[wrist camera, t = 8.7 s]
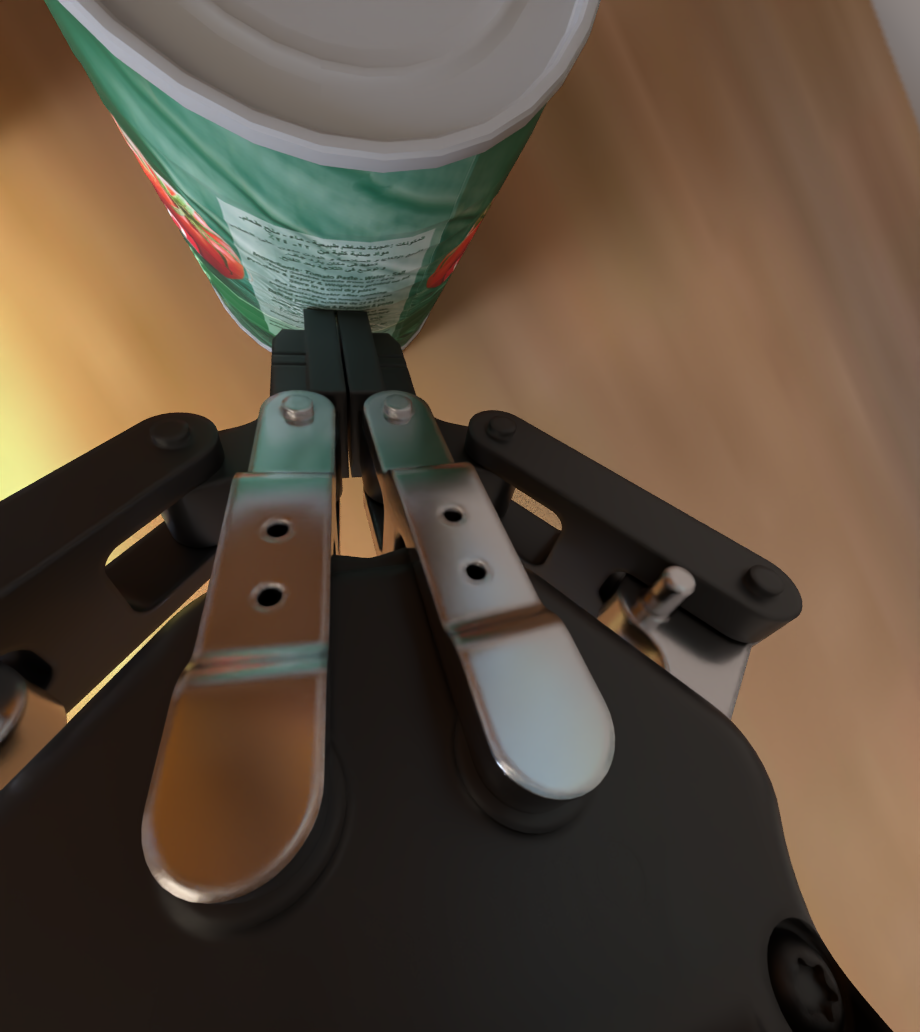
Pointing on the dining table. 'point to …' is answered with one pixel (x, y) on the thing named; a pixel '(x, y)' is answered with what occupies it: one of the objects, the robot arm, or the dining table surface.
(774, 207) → the dining table surface
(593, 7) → the canned tomato
